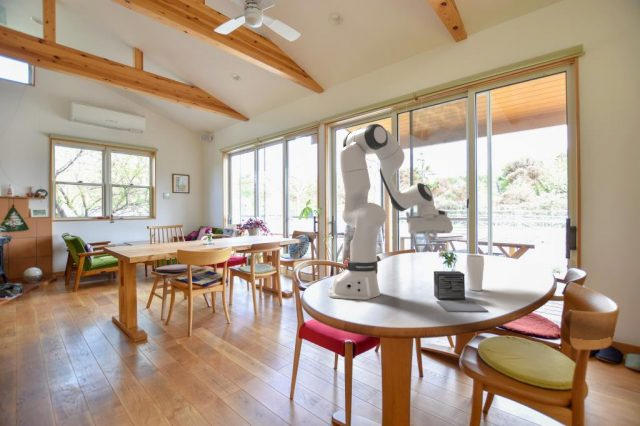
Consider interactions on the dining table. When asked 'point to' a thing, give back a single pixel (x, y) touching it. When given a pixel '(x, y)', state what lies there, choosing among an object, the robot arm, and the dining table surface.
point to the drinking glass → (475, 271)
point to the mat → (461, 306)
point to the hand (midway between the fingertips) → (432, 240)
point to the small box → (449, 285)
